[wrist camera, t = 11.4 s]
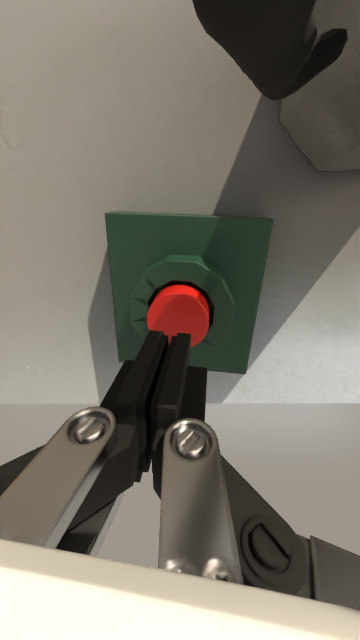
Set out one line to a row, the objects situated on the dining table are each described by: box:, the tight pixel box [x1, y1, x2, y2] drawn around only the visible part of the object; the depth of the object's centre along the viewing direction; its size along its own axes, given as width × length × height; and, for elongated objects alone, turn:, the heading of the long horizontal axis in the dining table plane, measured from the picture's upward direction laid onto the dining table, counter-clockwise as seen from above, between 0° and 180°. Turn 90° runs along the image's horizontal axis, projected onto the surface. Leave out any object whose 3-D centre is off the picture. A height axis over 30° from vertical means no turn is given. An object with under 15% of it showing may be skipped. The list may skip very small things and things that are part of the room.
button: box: [147, 284, 209, 347], centre depth 15 cm, size 4×4×2 cm
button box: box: [105, 212, 273, 374], centre depth 17 cm, size 11×10×4 cm
